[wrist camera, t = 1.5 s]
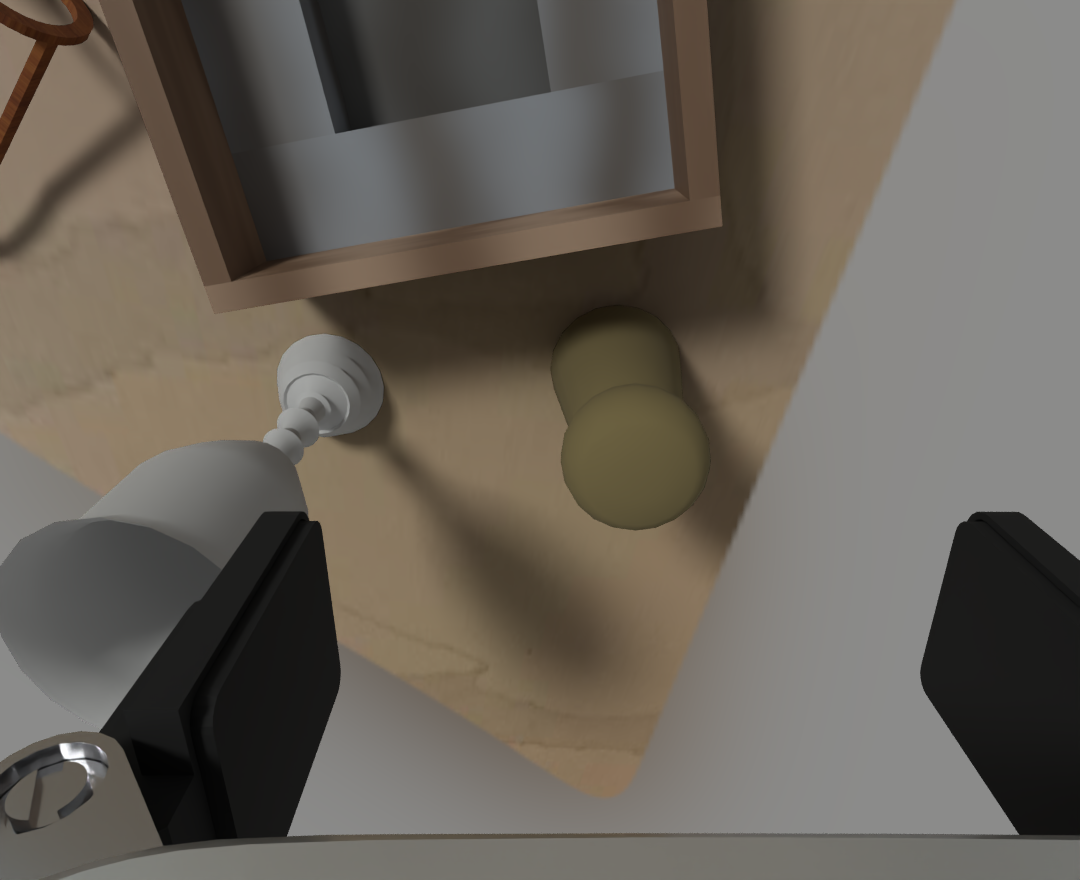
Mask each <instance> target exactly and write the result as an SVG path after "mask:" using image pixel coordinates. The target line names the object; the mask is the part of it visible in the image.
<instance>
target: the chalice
mask: <svg viewBox="0 0 1080 880" xmlns="http://www.w3.org/2000/svg"><path fill="white" fill-rule="evenodd" d="M277 386H278V393H279V401H280V404H281V407H282V410H283V412H282V413H281V414H280V415H279V418H278V421H277V428H278V429H273V430H271V431H269V432H268V433H267V434H266V435H265V437H264V440H263V442H259V441H247V440H220V441H211V442H202V443H197V444H193V445H189V446H185V447H180V448H176V449H172V450H167V451H164V452H162V453H160V454H158V455H156V456H154V457H152V458H151V459H149V460H147V461H145V462H143V463H141V464H140V465H138V466H137V467H136V468H135V469H134V470H133V471H132V472H131V473H130V474H128V475H127V476H126V477H125V478H124V479H123V480H122V481H121V482H120V483H118V484H117V485H116V486H115V487H114V488H113V489H112V490H111V491H110V492H108V493H107V494H106V495H105V496H104V497H103V498H102V499H101V500H100V501H98V502H97V503H96V504H95V505H94V506H93V507H92V508H91V509H90V510H88V511H87V512H86V513H85V514H84V515H83V516H82V517H81V518H80V519H75V520H68V521H59V522H54V523H52V524H50V525H48V526H46V527H44V528H43V529H40V530H39V531H37V532H35V533H33V534H31V535H29V536H27V537H25V538H23V539H21V540H20V541H19V542H18V544H17V545H16V546H15V547H14V549H13V550H12V552H11V553H10V554H9V556H8V557H7V558H6V559H5V561H4V562H3V563H2V565H1V566H0V633H1V636H2V638H3V640H4V642H5V643H6V645H7V647H8V648H9V650H10V652H11V654H12V655H13V657H14V659H15V660H16V662H17V664H18V665H19V667H20V669H21V670H22V671H23V672H24V673H25V674H26V675H27V676H28V677H29V678H30V679H31V680H32V681H33V682H34V684H35V685H36V686H37V687H38V688H39V689H40V690H41V691H42V692H43V693H44V694H45V695H46V696H47V697H48V698H49V699H50V700H52V701H53V702H55V703H57V704H58V705H60V706H61V707H62V708H64V709H65V710H67V711H69V712H70V713H72V714H73V715H75V716H76V717H78V718H79V719H81V720H82V721H84V722H85V723H88V724H90V725H92V726H95V727H97V728H100V729H102V727H103V726H104V725H105V723H106V722H107V721H108V719H109V718H110V716H111V715H112V714H113V712H114V711H115V709H116V708H117V707H118V705H119V704H120V703H121V701H122V700H123V698H124V697H125V696H126V694H127V693H128V691H129V690H130V689H131V687H132V686H133V684H134V683H135V682H136V680H137V679H138V678H139V676H140V675H141V673H142V672H143V671H144V669H145V668H146V666H147V665H148V664H149V662H150V661H151V660H152V658H153V657H154V655H155V654H156V653H157V651H158V650H159V648H160V647H161V646H162V644H163V643H164V641H165V640H166V639H167V637H168V636H169V635H170V633H171V632H172V630H173V629H174V628H175V626H176V625H177V623H178V622H179V621H180V619H181V618H182V617H183V615H184V614H185V612H186V611H187V610H188V608H189V607H190V606H191V605H192V604H193V603H194V602H196V601H199V600H201V599H202V598H203V596H204V595H205V593H206V592H207V591H208V589H209V588H210V586H211V585H212V583H213V582H214V581H215V579H216V578H217V576H218V575H219V574H220V572H221V571H222V569H223V568H224V567H225V565H226V564H227V562H228V561H229V559H230V558H231V557H232V555H233V554H234V552H235V551H236V550H237V548H238V547H239V545H240V544H241V542H242V541H243V540H244V538H245V537H246V535H247V534H248V533H249V531H250V530H251V528H252V527H253V526H254V524H255V523H256V521H257V520H258V518H259V517H260V516H261V514H262V513H264V512H266V511H304V512H305V513H306V514H307V516H308V508H307V505H306V501H305V498H304V494H303V491H302V487H301V484H300V480H299V477H298V474H297V471H296V468H295V466H294V465H295V464H297V463H298V462H299V461H300V460H301V459H302V457H303V452H304V448H303V447H309V446H311V445H313V444H314V443H315V442H316V441H317V439H318V437H319V436H320V437H330V436H337V435H342V434H346V433H353V432H355V431H357V430H359V429H361V428H363V427H365V426H367V425H368V424H369V423H370V422H371V421H372V420H373V419H374V418H375V417H376V416H377V413H378V411H379V409H380V407H381V405H382V403H383V392H384V385H383V381H382V377H381V373H380V370H379V369H378V367H377V366H376V364H375V362H374V361H373V359H372V357H371V356H370V355H369V354H368V353H367V352H365V351H364V350H363V349H362V348H361V347H360V346H359V345H358V344H356V343H354V342H352V341H349V340H347V339H345V338H343V337H341V336H335V335H329V334H318V335H311V336H307V337H305V338H303V339H301V340H299V341H297V342H295V343H293V344H292V345H291V346H290V348H289V349H288V350H287V351H286V352H285V353H284V354H283V356H282V358H281V361H280V364H279V366H278V369H277Z"/></svg>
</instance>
